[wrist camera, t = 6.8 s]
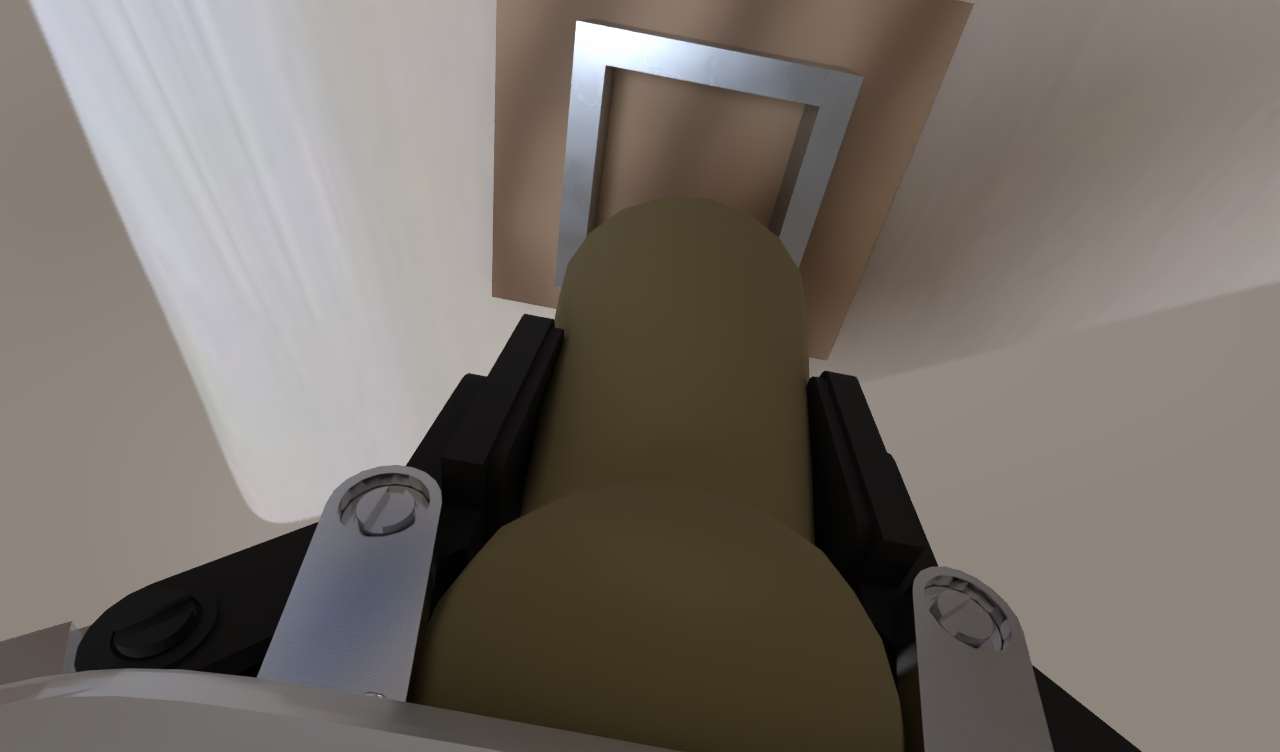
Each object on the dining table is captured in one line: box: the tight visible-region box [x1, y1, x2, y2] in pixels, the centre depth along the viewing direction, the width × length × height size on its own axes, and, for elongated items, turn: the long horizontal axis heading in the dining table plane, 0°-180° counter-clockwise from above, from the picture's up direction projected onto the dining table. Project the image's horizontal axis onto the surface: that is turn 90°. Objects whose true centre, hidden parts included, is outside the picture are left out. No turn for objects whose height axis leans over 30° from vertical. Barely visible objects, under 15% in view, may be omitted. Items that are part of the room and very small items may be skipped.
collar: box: [554, 18, 864, 287], centre depth 24 cm, size 10×10×3 cm
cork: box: [413, 197, 905, 752], centre depth 9 cm, size 6×6×11 cm
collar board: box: [492, 0, 974, 360], centre depth 26 cm, size 18×16×1 cm
